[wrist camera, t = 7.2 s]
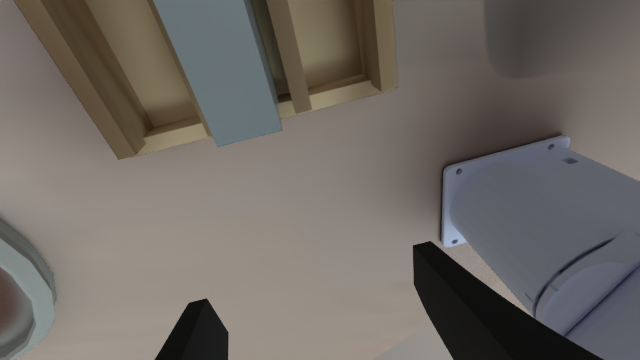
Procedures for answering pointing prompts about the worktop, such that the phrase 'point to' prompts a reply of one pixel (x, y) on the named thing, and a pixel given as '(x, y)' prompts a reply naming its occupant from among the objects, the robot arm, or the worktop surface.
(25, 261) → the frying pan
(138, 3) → the rack
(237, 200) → the worktop surface
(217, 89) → the upright pale blue slab
